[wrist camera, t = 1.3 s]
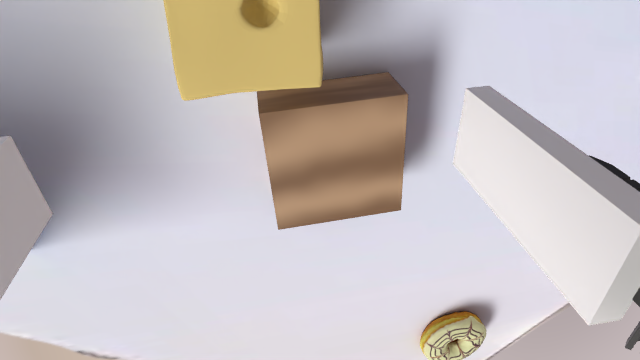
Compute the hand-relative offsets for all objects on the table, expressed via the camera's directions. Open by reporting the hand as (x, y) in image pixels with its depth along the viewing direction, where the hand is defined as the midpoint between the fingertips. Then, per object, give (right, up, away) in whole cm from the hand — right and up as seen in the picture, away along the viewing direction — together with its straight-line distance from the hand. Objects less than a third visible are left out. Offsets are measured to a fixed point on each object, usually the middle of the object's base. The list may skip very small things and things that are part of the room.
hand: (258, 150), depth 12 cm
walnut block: (+3, +4, +31) cm, 31 cm away
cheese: (-4, +15, +22) cm, 26 cm away
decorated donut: (+23, -26, +55) cm, 65 cm away
